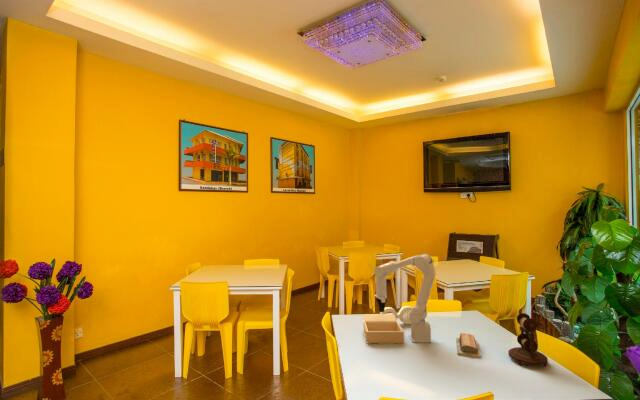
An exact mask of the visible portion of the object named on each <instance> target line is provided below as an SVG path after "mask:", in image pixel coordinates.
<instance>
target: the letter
mask: <svg viewBox="0 0 640 400" xmlns="http://www.w3.org/2000/svg"><path fill="white" fill-rule="evenodd" d="M413 308H414V307H412V306H410V305H404V306H402V307H401V308H400V309H399V310H398V312H397V311H396V310H395V309H394V308H393V307H390V306H388V307H387V306H385V308H384V312H380V311H379V314H388V313H391V314H394V316H395V318H396V322H398V319H399V321H400V322H401V323H403V324H404V325H411V321H410V319H409V314H410V313H411V312H412V310H413Z"/></svg>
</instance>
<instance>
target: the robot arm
mask: <svg viewBox="0 0 640 400" xmlns="http://www.w3.org/2000/svg"><path fill="white" fill-rule="evenodd" d="M406 266H413V267H414V266H415V268H417V269H418V270H419V271H420V272H421V274H423V278H422V282H421V286H420V288H419V292H418V296H417V299H416V302H415V304H414V305H413V307H412V308H413V310H412V312H411V313H410V314H409V319H410V321H411V324H410V334H411V335H410V334H409V336H408V337H409V339H410V340H411V342H412V343H432V331H431V324H430V322H428V321H426V318H427V315H428V312H427V310H428V306H427V304H428V301H429V298H430V294H431V290H432V289H433V288H432V287H433V284H434V281H435V278H436V269H435V266H434V259H433V258H432V257H431V256H430V255H429V254H428V253H423V254H418V255H413V256H411V257H408V258H406V259H402V260H400V261H394V260H389V261H388V262H387V263H382V264H381V265H377V266H376V267H375V268H374V269H373V273H374V276H375V294H374V295H373V297H374V298H375V300H376V303H377V305H378V310H379V313H380V312H384V308H386V303H388V300H387V297H388V296H387V295H388V294H387V293H388V291H387V275H390V274H393V273H396V272H398V271H399V270H400V268H403V267H406Z"/></svg>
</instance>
